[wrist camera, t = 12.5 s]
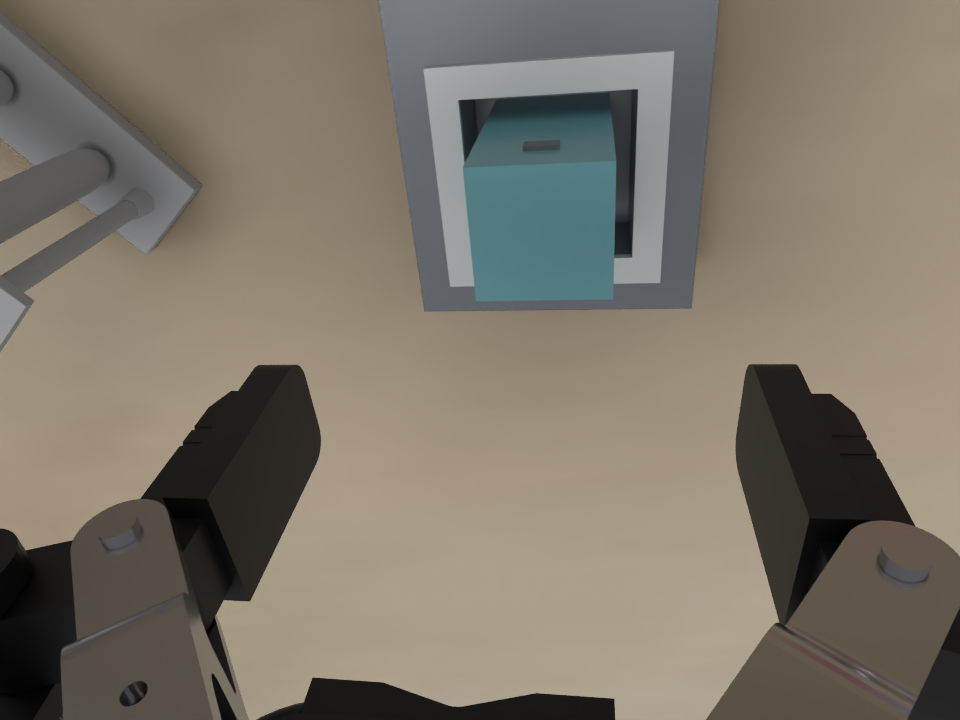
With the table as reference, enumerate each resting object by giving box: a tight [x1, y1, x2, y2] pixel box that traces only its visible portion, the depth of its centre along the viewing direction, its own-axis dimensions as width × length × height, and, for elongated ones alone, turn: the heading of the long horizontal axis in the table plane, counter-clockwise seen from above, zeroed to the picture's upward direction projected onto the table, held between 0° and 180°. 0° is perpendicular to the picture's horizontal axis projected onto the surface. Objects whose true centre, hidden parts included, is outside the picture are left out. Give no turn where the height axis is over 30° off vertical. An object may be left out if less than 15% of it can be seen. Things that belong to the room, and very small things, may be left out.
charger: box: [463, 92, 616, 301], centre depth 22 cm, size 4×4×8 cm
